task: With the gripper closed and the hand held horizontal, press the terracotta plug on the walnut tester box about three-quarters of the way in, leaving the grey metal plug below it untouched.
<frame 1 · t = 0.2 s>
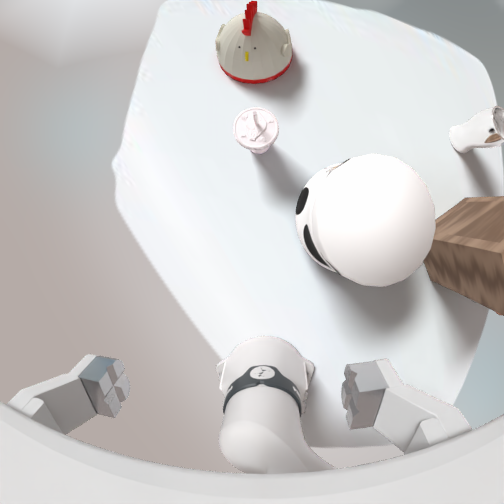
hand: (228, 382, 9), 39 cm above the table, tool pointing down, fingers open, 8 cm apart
tester box: (457, 259, 45), on the table
kitchen timer: (255, 55, 43), on the table
white hollow cylinder: (458, 139, 42), on the table
terracotta plug: (503, 286, 32), point 14 cm above the table, slide at 0.0 cm
milk container: (342, 217, 46), on the table
smoothie: (258, 144, 45), on the table
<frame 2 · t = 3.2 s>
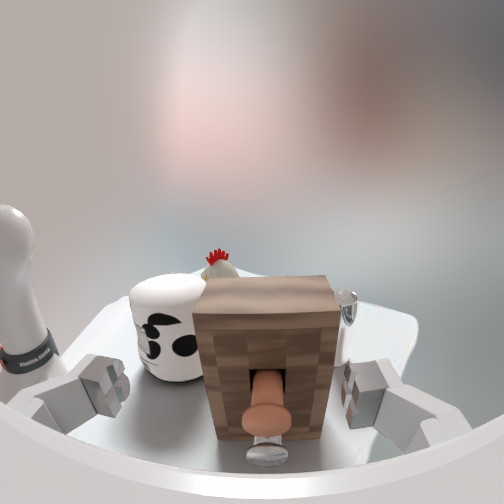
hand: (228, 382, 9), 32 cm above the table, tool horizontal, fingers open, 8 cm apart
tester box: (268, 440, 36), on the table
grey plug: (267, 434, 32), point 6 cm above the table, slide at 0.0 cm
kitchen timer: (221, 294, 89), on the table
white hollow cylinder: (334, 359, 55), on the table
terracotta plug: (267, 397, 29), point 14 cm above the table, slide at 0.0 cm
milk container: (182, 363, 56), on the table
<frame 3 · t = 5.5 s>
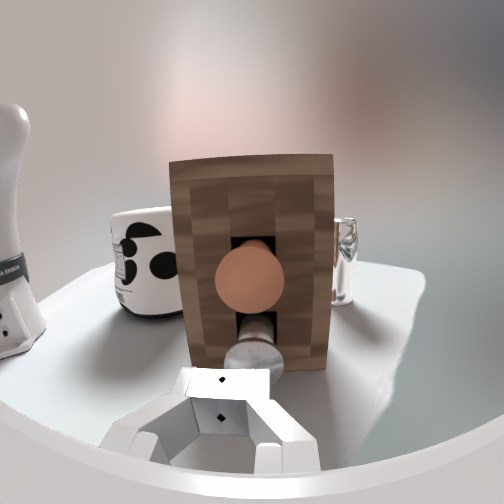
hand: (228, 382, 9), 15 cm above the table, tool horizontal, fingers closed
tester box: (258, 372, 31), on the table
grey plug: (255, 342, 27), point 6 cm above the table, slide at 0.0 cm
white hollow cylinder: (335, 300, 50), on the table
terracotta plug: (252, 266, 25), point 14 cm above the table, slide at 0.0 cm
milk container: (163, 305, 51), on the table
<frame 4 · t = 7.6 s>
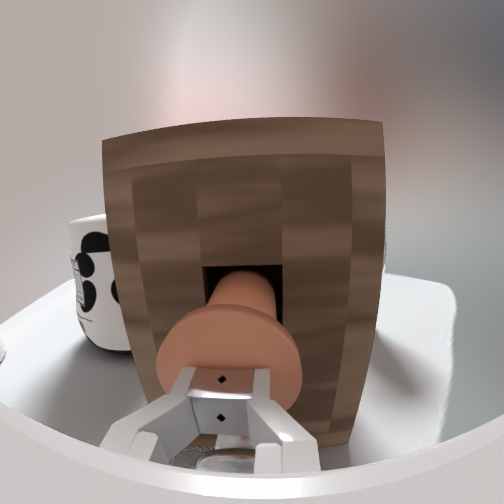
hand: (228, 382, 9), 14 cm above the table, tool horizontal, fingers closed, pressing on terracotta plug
tester box: (253, 449, 19), on the table
grey plug: (247, 431, 15), point 6 cm above the table, slide at 0.0 cm
terracotta plug: (238, 325, 13), point 14 cm above the table, slide at 0.1 cm, touching gripper
milk container: (138, 333, 39), on the table
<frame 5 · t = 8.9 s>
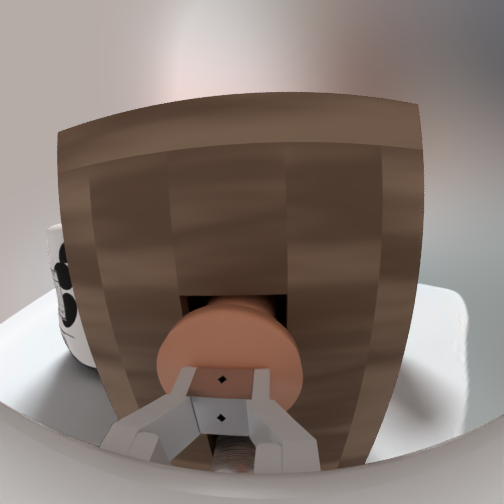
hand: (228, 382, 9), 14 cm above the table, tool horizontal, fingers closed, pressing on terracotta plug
tester box: (250, 488, 15), on the table
grey plug: (242, 484, 11), point 6 cm above the table, slide at 0.0 cm
terracotta plug: (239, 325, 13), point 14 cm above the table, slide at 4.3 cm, touching gripper
milk container: (126, 347, 35), on the table
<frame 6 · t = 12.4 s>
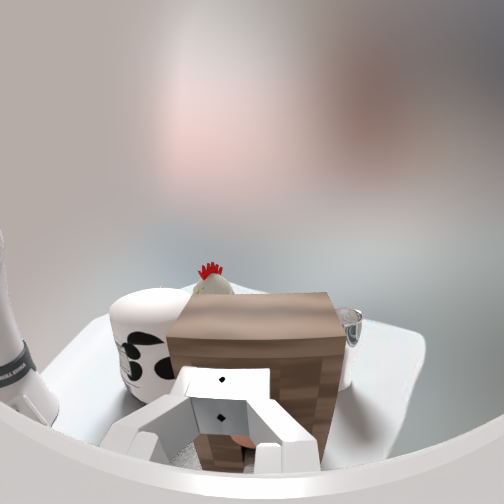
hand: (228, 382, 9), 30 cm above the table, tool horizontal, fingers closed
tester box: (260, 475, 29), on the table
grey plug: (258, 471, 25), point 6 cm above the table, slide at 0.0 cm
kitchen timer: (214, 311, 83), on the table
white hollow cylinder: (335, 382, 48), on the table
terracotta plug: (258, 406, 27), point 14 cm above the table, slide at 4.3 cm
milk container: (168, 385, 49), on the table
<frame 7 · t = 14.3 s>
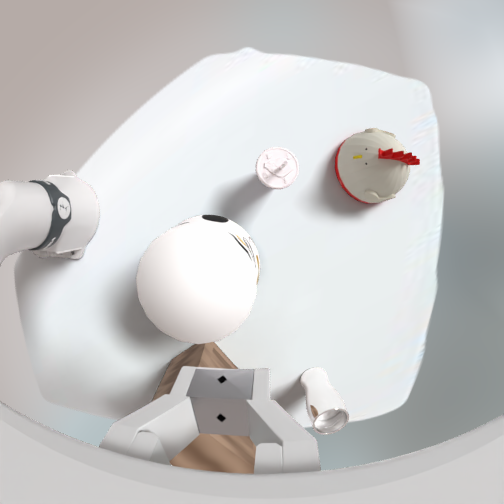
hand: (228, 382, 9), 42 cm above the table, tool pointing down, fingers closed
tester box: (196, 385, 54), on the table
kitchen timer: (367, 168, 49), on the table
white hollow cylinder: (313, 377, 55), on the table
milk container: (211, 262, 51), on the table
smoothie: (271, 176, 49), on the table
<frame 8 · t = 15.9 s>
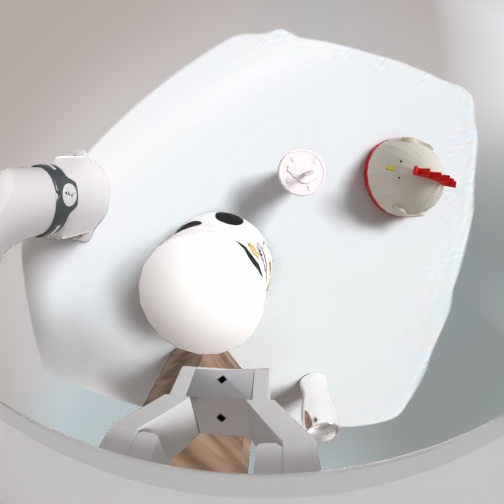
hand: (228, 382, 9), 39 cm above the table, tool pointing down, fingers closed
tester box: (196, 376, 55), on the table
kitchen timer: (398, 177, 44), on the table
white hollow cylinder: (312, 382, 54), on the table
milk container: (222, 259, 49), on the table
smoothie: (295, 174, 45), on the table
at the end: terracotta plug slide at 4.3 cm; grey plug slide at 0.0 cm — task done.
